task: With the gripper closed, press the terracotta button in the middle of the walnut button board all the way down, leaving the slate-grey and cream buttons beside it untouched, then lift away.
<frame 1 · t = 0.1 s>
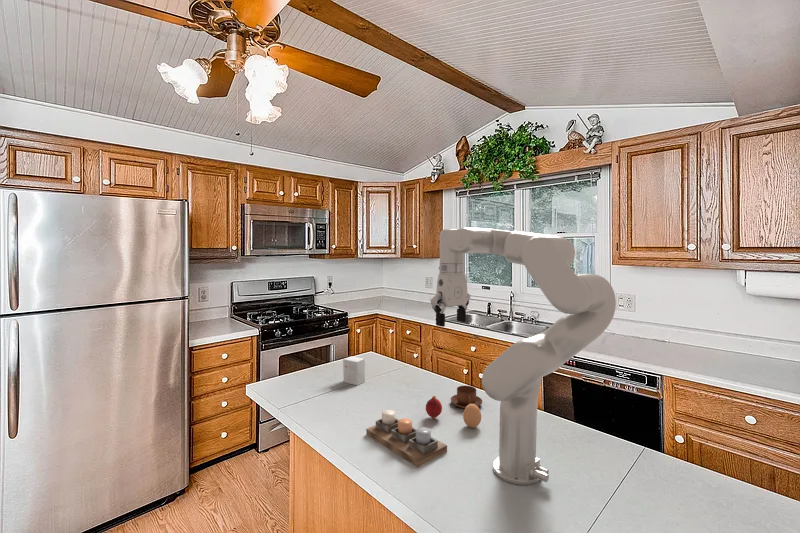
hand: (451, 323, 121), 37 cm above the countertop, tool pointing down, fingers open, 9 cm apart
grey button: (423, 436, 113), point 5 cm above the countertop, slide at 0.0 cm
button board: (405, 442, 120), on the countertop
cream button: (388, 417, 126), point 5 cm above the countertop, slide at 0.0 cm
egg: (472, 427, 130), on the countertop
cup and saucer: (466, 405, 149), on the countertop
red fruit: (433, 418, 137), on the countertop
terracotta button: (405, 426, 120), point 5 cm above the countertop, slide at 0.0 cm
small box: (354, 382, 172), on the countertop
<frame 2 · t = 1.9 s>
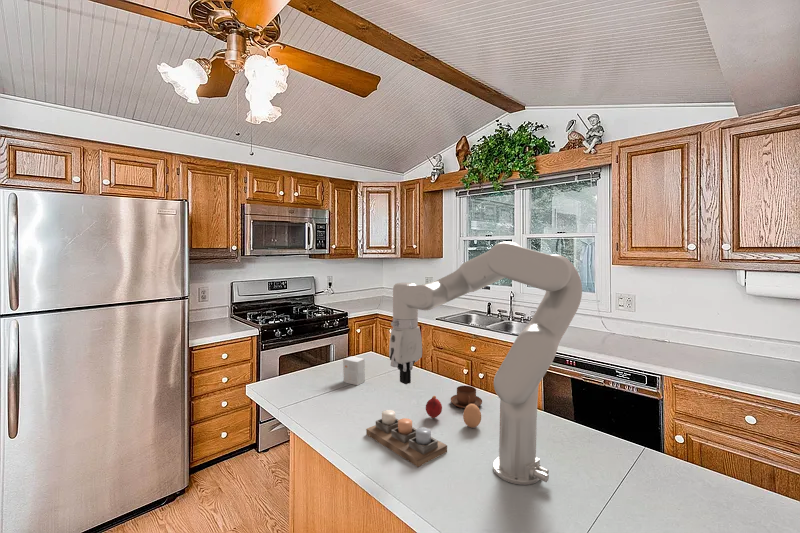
hand: (405, 382, 119), 19 cm above the countertop, tool pointing down, fingers closed
nothing on the countertop moved.
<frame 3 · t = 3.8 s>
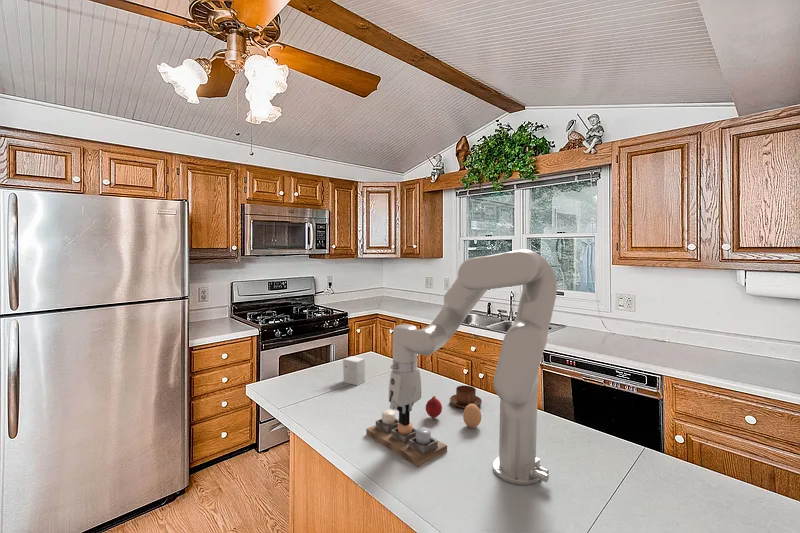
hand: (404, 423, 120), 6 cm above the countertop, tool pointing down, fingers closed
terracotta button: (405, 428, 120), point 5 cm above the countertop, slide at 0.8 cm, touching gripper
everything else where it was.
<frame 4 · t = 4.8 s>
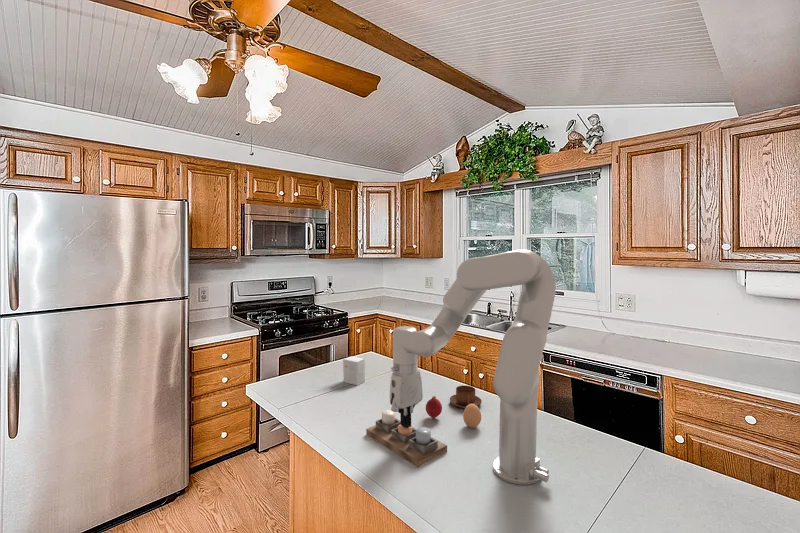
hand: (405, 425, 119), 6 cm above the countertop, tool pointing down, fingers closed
terracotta button: (405, 431, 120), point 4 cm above the countertop, slide at 1.6 cm
everything else where it was.
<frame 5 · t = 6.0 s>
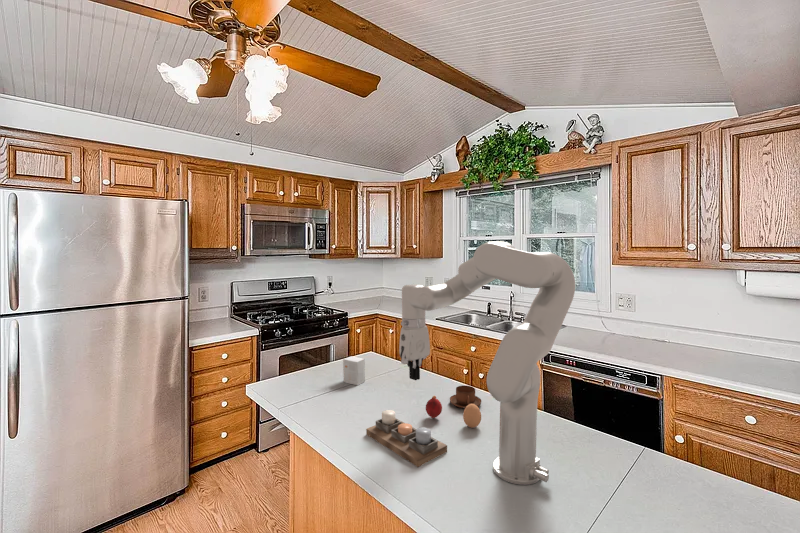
hand: (414, 378, 126), 18 cm above the countertop, tool pointing down, fingers closed
nothing on the countertop moved.
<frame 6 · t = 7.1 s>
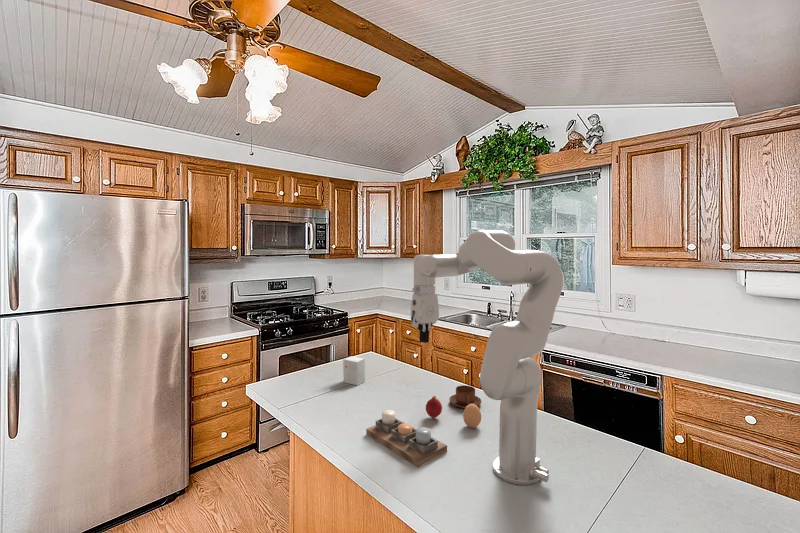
hand: (424, 341, 136), 27 cm above the countertop, tool pointing down, fingers closed
nothing on the countertop moved.
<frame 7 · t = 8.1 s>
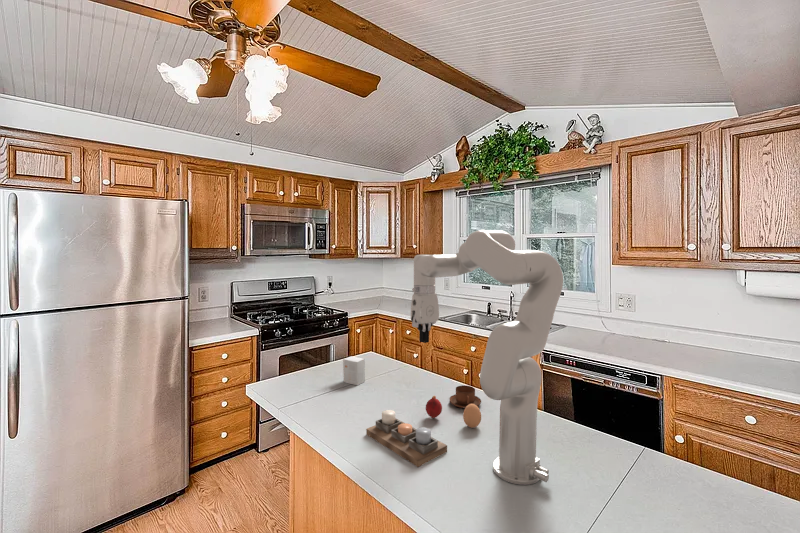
hand: (424, 341, 136), 27 cm above the countertop, tool pointing down, fingers closed
nothing on the countertop moved.
at the end: terracotta button slide at 1.6 cm; grey button slide at 0.0 cm; cream button slide at 0.0 cm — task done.
